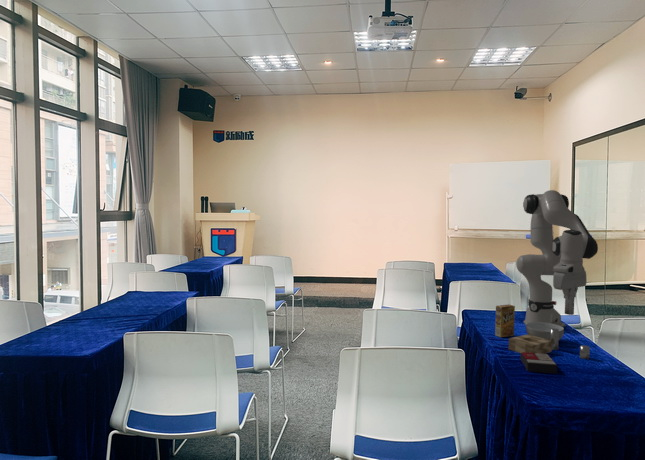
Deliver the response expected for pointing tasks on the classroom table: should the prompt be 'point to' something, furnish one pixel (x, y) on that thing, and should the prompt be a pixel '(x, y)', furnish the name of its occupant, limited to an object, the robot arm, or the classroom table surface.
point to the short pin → (584, 352)
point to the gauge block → (530, 344)
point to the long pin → (570, 302)
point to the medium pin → (554, 338)
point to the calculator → (538, 363)
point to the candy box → (504, 320)
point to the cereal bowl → (543, 329)
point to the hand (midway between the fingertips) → (569, 297)
